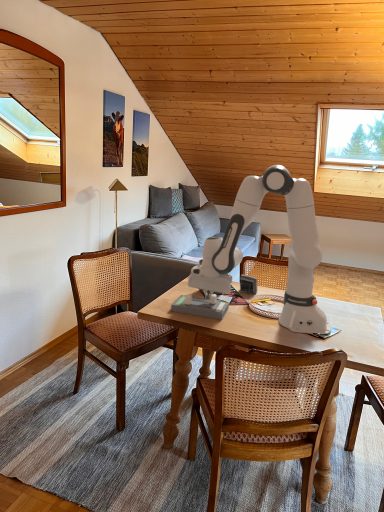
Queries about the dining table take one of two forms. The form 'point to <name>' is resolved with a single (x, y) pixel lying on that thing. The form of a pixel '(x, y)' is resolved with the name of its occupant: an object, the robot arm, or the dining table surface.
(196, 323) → the dining table surface
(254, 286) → the electrical switch
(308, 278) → the robot arm
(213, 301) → the block
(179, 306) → the grey slider panel
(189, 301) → the block
